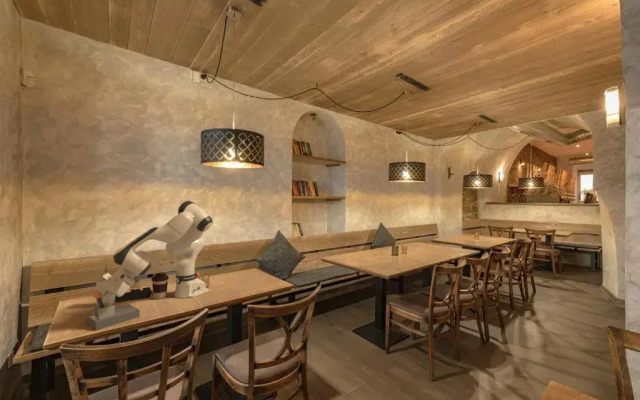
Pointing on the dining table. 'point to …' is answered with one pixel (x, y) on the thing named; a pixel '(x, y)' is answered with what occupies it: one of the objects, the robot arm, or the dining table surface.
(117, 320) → the switch box
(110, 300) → the milk carton
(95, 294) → the toggle lever
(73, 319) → the dining table surface
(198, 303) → the dining table surface
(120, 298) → the dark slate chunk
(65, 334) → the dining table surface
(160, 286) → the coffee cup
